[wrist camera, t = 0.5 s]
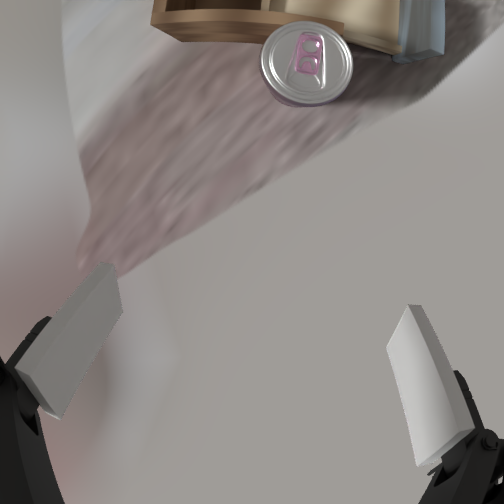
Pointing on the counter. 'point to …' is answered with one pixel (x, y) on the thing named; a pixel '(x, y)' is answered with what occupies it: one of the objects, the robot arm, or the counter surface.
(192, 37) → the caddy
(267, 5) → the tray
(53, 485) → the robot arm
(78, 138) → the counter surface
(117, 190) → the counter surface
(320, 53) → the beverage can
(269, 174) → the counter surface
